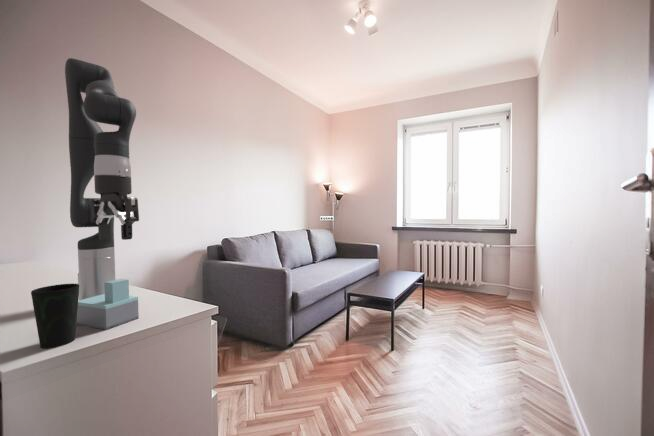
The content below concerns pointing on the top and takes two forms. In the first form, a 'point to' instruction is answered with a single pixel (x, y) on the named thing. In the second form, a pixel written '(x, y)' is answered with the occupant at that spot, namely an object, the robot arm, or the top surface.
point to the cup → (56, 314)
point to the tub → (107, 315)
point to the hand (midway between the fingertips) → (115, 239)
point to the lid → (110, 295)
